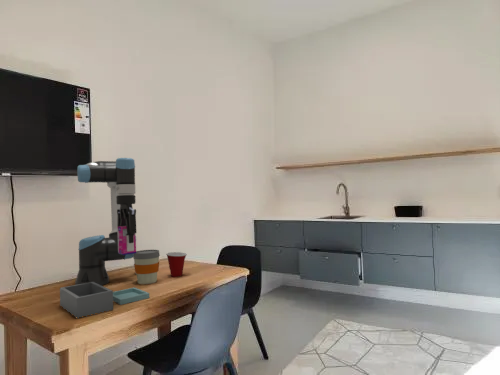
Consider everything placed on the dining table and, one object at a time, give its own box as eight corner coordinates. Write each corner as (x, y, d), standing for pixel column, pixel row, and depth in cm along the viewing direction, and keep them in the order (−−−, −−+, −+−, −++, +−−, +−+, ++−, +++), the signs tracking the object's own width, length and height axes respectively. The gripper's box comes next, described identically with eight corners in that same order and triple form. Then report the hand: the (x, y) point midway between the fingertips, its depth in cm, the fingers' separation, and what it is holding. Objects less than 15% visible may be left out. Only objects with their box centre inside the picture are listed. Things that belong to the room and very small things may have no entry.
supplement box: (117, 253, 141) (116, 226, 141) (131, 252, 145) (130, 225, 145) (122, 255, 137) (121, 226, 137) (136, 253, 140) (136, 225, 141)
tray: (106, 297, 141) (106, 293, 141) (134, 291, 149) (134, 287, 149) (120, 304, 131) (120, 299, 131) (149, 297, 139) (149, 293, 139)
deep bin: (60, 305, 132) (59, 287, 132) (93, 298, 141) (92, 281, 141) (77, 318, 117) (76, 298, 117) (113, 309, 125) (112, 290, 125)
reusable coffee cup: (164, 279, 172) (164, 249, 173) (152, 285, 160) (151, 253, 160) (142, 278, 175) (142, 249, 175) (128, 284, 163) (128, 253, 163)
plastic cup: (185, 277, 173) (184, 254, 174) (164, 278, 174) (163, 254, 174) (189, 273, 184) (188, 251, 185) (169, 273, 185) (169, 251, 185)
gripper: (108, 195, 146) (109, 249, 145) (126, 194, 132) (127, 253, 131) (125, 195, 151) (126, 247, 150) (144, 194, 137) (145, 251, 136)
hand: (127, 250), depth 141 cm, fingers closed on supplement box, 6 cm apart
